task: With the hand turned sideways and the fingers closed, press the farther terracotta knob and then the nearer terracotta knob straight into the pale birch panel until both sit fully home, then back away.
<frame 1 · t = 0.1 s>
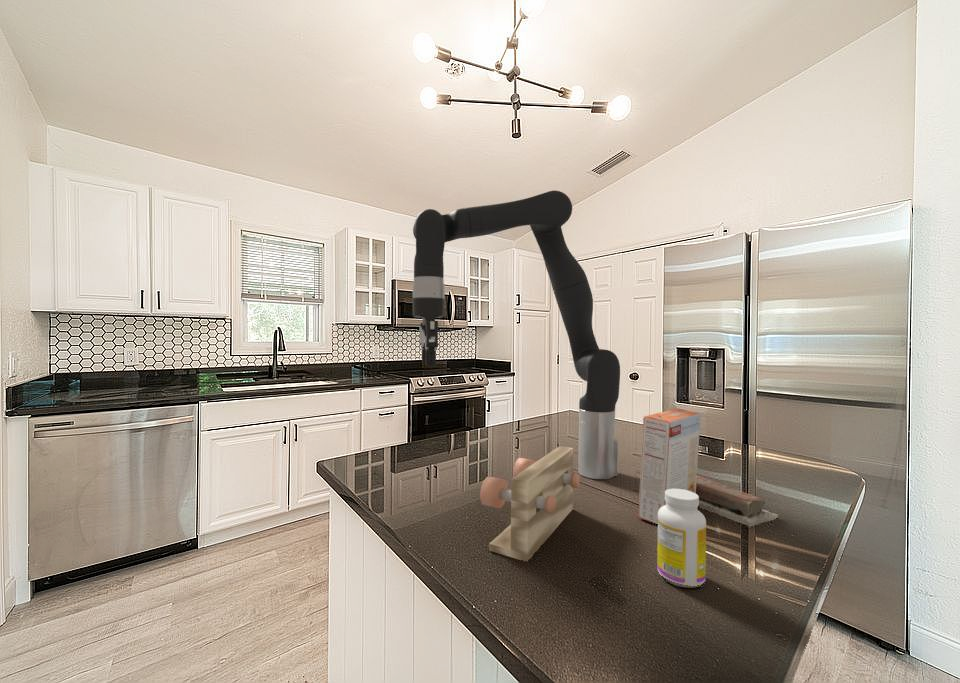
hand: (428, 365, 99), 29 cm above the worktop, tool pointing down, fingers open, 8 cm apart
knob panel: (545, 530, 78), on the worktop
supplement bottle: (680, 579, 64), on the worktop
knob 1: (518, 497, 73), point 8 cm above the worktop, slide at 0.0 cm
knob 2: (547, 475, 86), point 8 cm above the worktop, slide at 0.0 cm
packaged product: (720, 509, 91), on the worktop
cracker box: (666, 514, 86), on the worktop
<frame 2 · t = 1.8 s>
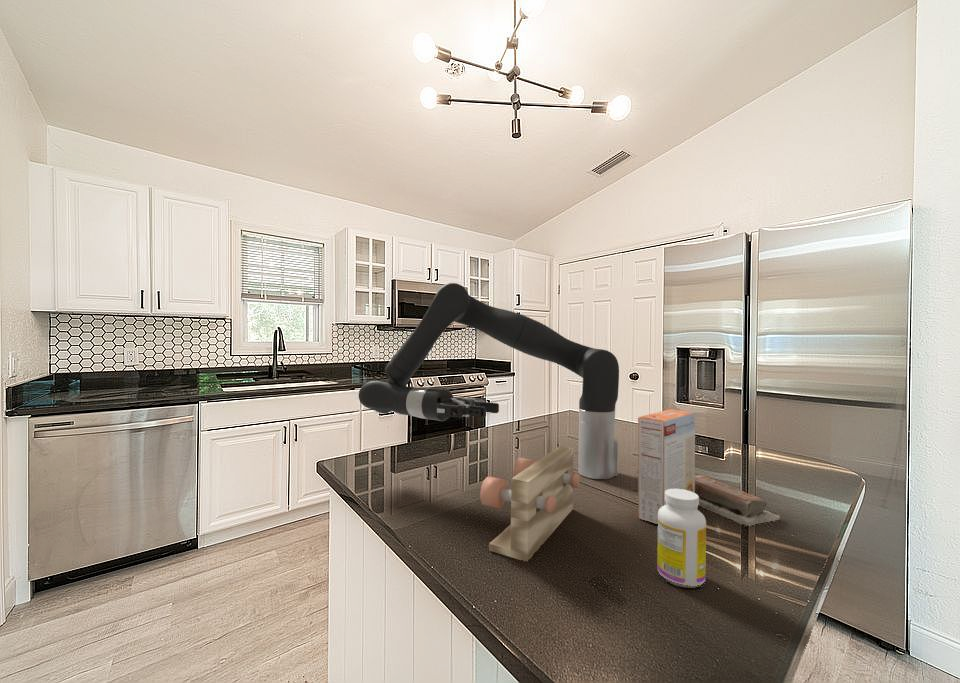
hand: (491, 410, 92), 20 cm above the worktop, tool horizontal, fingers open, 5 cm apart
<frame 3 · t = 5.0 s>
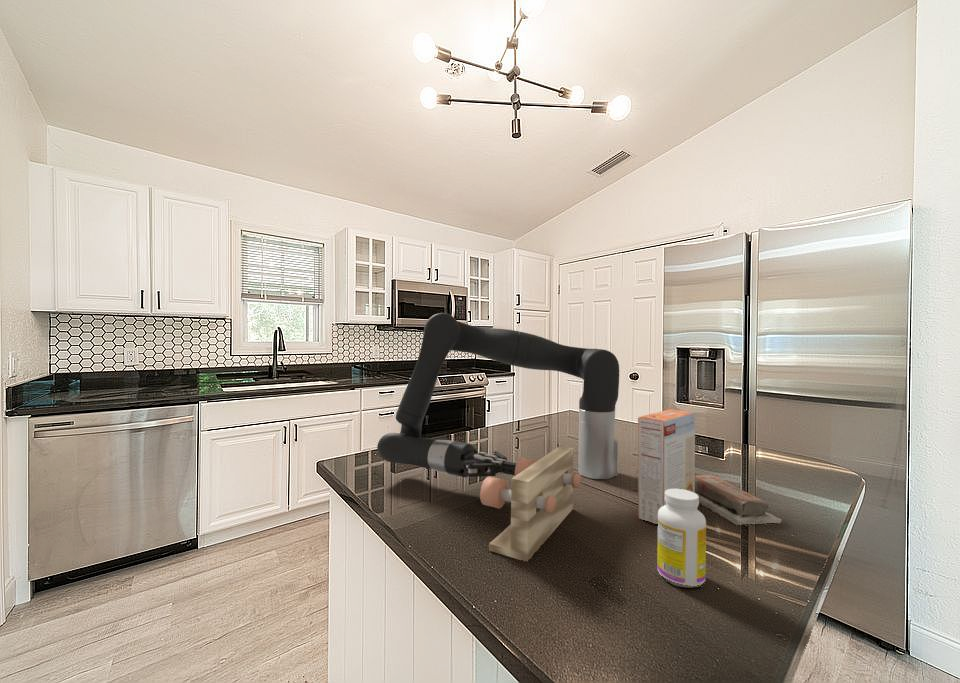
hand: (519, 470, 89), 8 cm above the worktop, tool horizontal, fingers closed
knob 2: (548, 475, 86), point 8 cm above the worktop, slide at 0.3 cm, touching gripper
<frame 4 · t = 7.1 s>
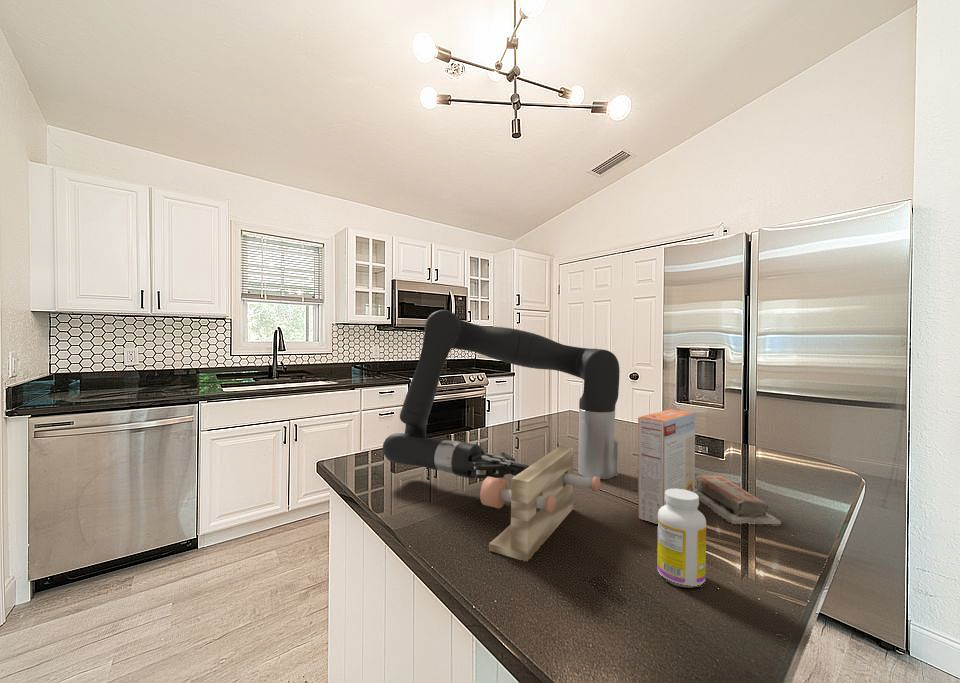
hand: (528, 471, 88), 8 cm above the worktop, tool horizontal, fingers closed
knob 2: (566, 478, 84), point 8 cm above the worktop, slide at 4.1 cm
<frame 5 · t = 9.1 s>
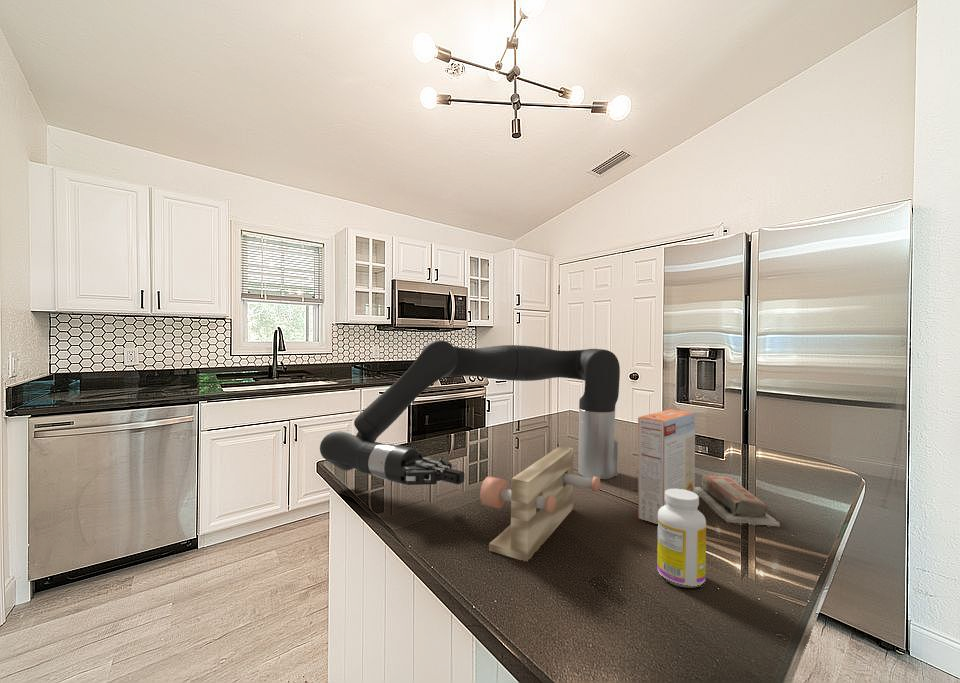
hand: (462, 478, 82), 8 cm above the worktop, tool horizontal, fingers closed
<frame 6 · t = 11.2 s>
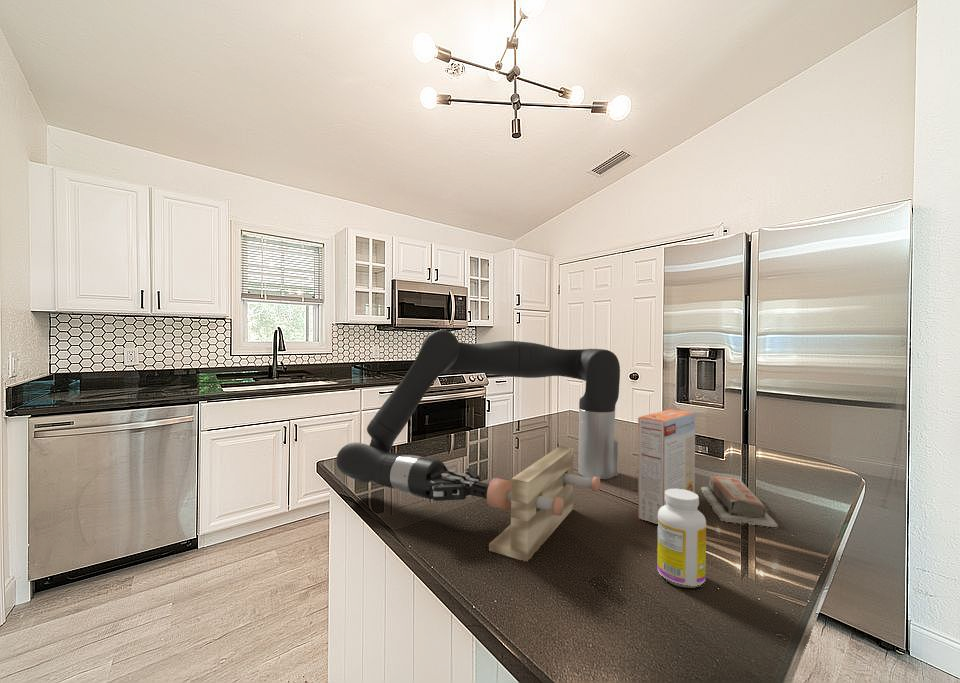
hand: (493, 492, 76), 8 cm above the worktop, tool horizontal, fingers closed
knob 1: (525, 499, 73), point 8 cm above the worktop, slide at 1.4 cm, touching gripper
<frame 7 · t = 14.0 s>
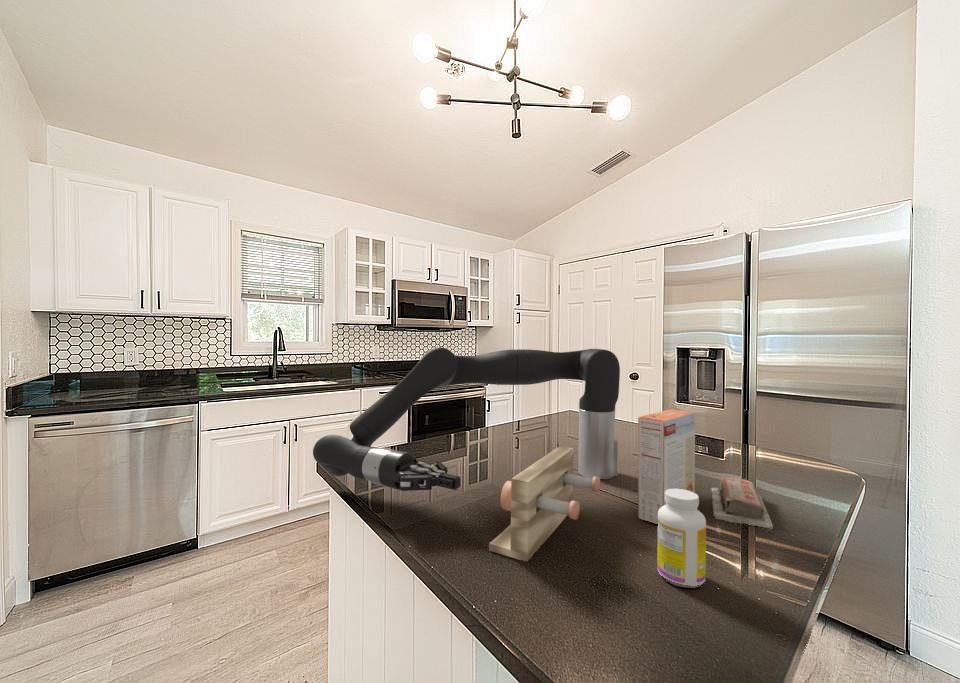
hand: (458, 483, 80), 8 cm above the worktop, tool horizontal, fingers closed
knob 1: (540, 502, 71), point 8 cm above the worktop, slide at 4.1 cm
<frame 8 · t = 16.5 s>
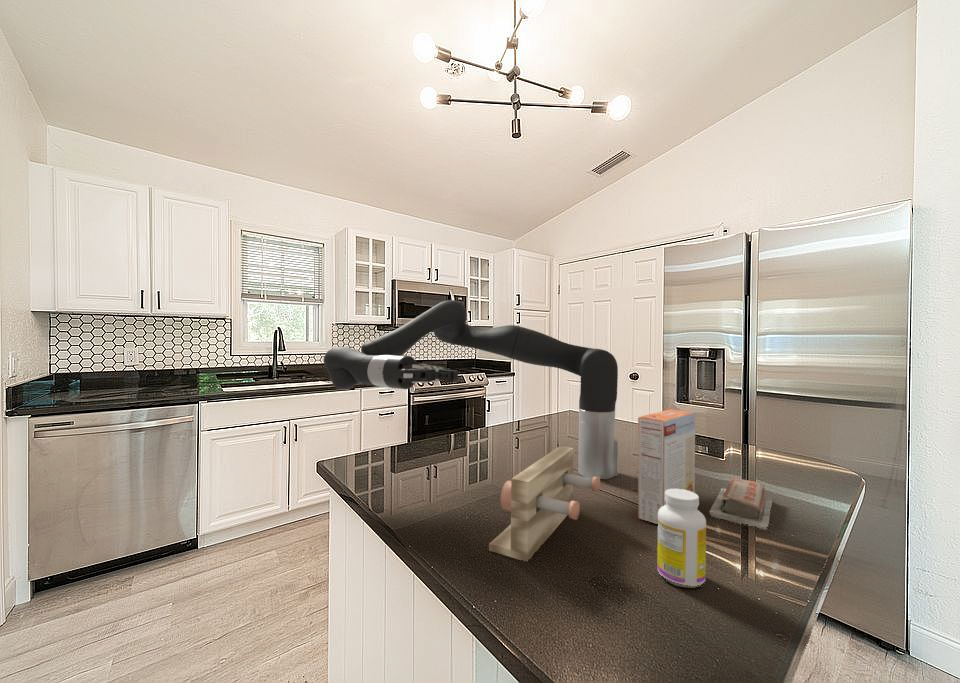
hand: (456, 375, 87), 28 cm above the worktop, tool horizontal, fingers closed
at the end: knob 2 slide at 4.1 cm; knob 1 slide at 4.1 cm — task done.
